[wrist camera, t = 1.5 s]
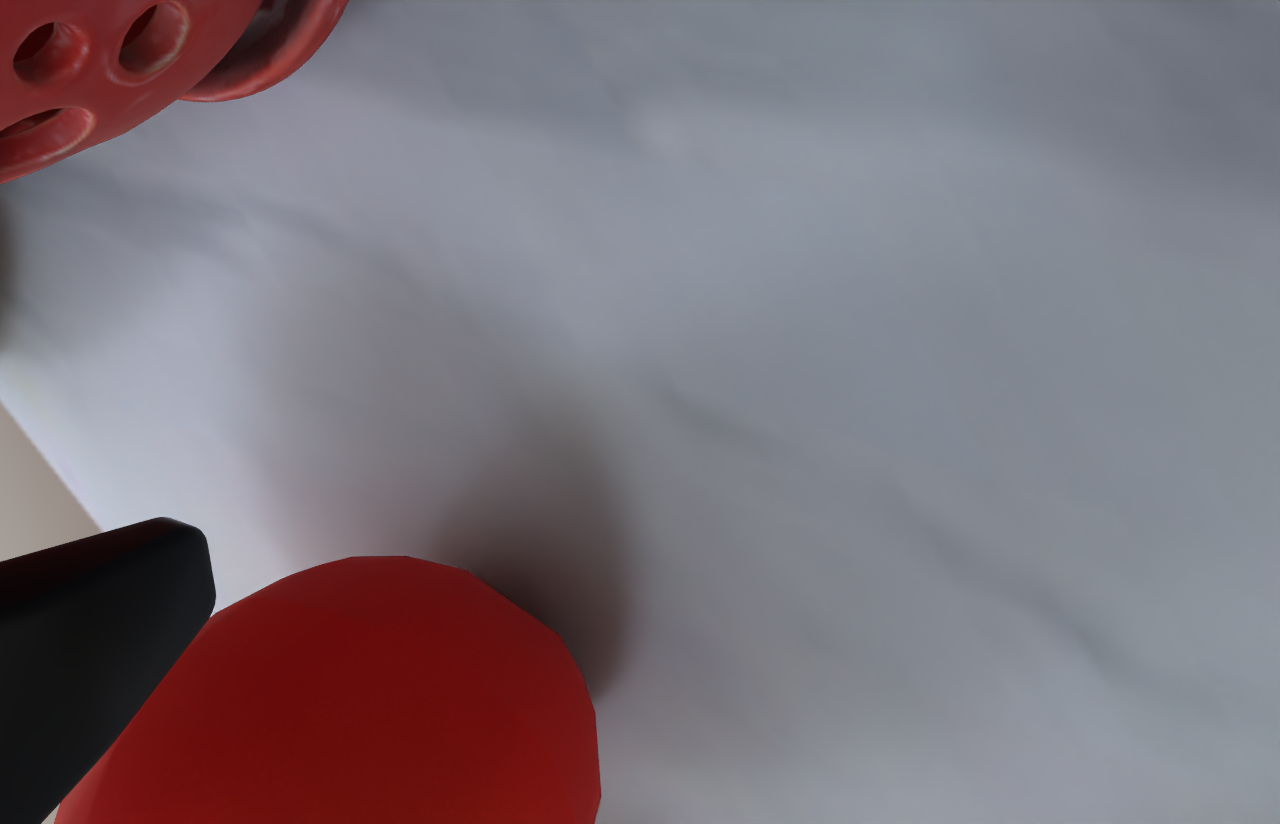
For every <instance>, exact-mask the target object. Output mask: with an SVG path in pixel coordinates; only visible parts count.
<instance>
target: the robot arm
mask: <svg viewBox="0 0 1280 824" xmlns="http://www.w3.org/2000/svg"><path fill="white" fill-rule="evenodd" d="M215 600H216V590H215V585H214V579H213V573H212V567H211V561H210V555H209V549H208V544H207V540H206V537H205V535H204V534H203V532H202V531H201V530H200V529H198V528H196V527H194V526H191V525H188V524H185V523H183V522H180V521H177V520H174V519H171V518H166V517H158V518H154V519H150V520H146V521H143V522H139V523H136V524H132V525H129V526H125V527H122V528H118V529H115V530H111V531H108V532H104V533H100V534H97V535H94V536H90V537H86V538H83V539H79V540H76V541H73V542H69V543H65V544H62V545H58V546H55V547H51V548H48V549H44V550H41V551H37V552H33V553H30V554H27V555H23V556H19V557H16V558H12V559H9V560H5V561H2V562H0V824H41V823H42V822H43V821H44V820H45V819H46V818H47V816H48V815H49V814H50V813H51V812H52V811H53V810H54V809H55V808H56V807H57V806H58V805H59V803H60V802H61V801H62V800H63V799H64V798H65V797H66V796H67V795H68V794H69V793H70V792H71V790H72V789H73V788H74V787H75V786H76V785H77V784H78V783H79V782H80V781H81V780H82V778H83V777H84V776H85V775H86V774H87V773H88V772H89V771H90V770H91V769H92V767H93V766H94V765H95V764H96V763H97V762H98V761H99V759H100V758H101V757H102V756H103V755H104V754H105V753H106V752H107V750H108V749H109V748H110V747H111V745H112V744H113V743H114V742H115V740H116V739H117V738H118V737H119V735H120V734H121V733H122V732H123V730H124V729H125V728H126V727H127V725H128V724H129V723H130V721H131V720H132V719H133V718H134V716H135V715H136V714H137V712H138V711H139V710H140V708H141V707H142V706H143V704H144V703H145V702H146V701H147V699H148V698H149V697H150V695H151V694H152V693H153V691H154V690H155V689H156V688H157V686H158V685H159V684H160V682H161V681H162V680H163V678H164V677H165V676H166V674H167V673H168V672H169V671H170V669H171V668H172V667H173V665H174V664H175V663H176V661H177V660H178V659H179V657H180V656H181V655H182V654H183V652H184V651H185V650H186V648H187V647H188V646H189V644H190V643H191V642H192V641H193V639H194V638H195V637H196V635H197V634H198V633H199V631H200V630H201V629H202V627H203V626H204V625H205V624H206V622H207V621H208V619H209V617H210V615H211V613H212V611H213V608H214V605H215Z"/></svg>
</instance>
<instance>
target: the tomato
mask: <svg viewBox="0 0 1280 824" xmlns="http://www.w3.org/2000/svg"><path fill="white" fill-rule="evenodd" d="M600 799H601V786H600V772H599V758H598V744H597V730H596V717H595V710H594V707H593V704H592V701H591V698H590V695H589V692H588V689H587V686H586V683H585V680H584V677H583V674H582V672H581V671H580V669H579V667H578V666H577V664H576V662H575V660H574V659H573V657H572V655H571V654H570V652H569V650H568V649H567V647H566V645H565V643H564V642H563V640H562V638H561V637H560V635H559V634H557V633H556V632H555V631H553V630H552V629H550V628H549V627H547V626H546V625H545V624H543V623H542V622H540V621H539V620H537V619H536V618H535V617H533V616H532V615H530V614H529V613H527V612H526V611H525V610H523V609H522V608H520V607H519V606H517V605H516V604H515V603H513V602H512V601H510V600H509V599H507V598H506V597H505V596H503V595H502V594H500V593H499V592H497V591H496V590H495V589H493V588H492V587H490V586H489V585H487V584H486V583H485V582H483V581H482V580H480V579H479V578H477V577H476V576H475V575H473V574H472V573H470V572H469V571H467V570H463V569H459V568H454V567H450V566H446V565H442V564H438V563H434V562H429V561H425V560H421V559H417V558H413V557H409V556H364V557H349V558H345V559H341V560H337V561H333V562H329V563H325V564H322V565H319V566H315V567H312V568H309V569H306V570H303V571H300V572H297V573H295V574H292V575H290V576H287V577H285V578H282V579H280V580H278V581H276V582H274V583H272V584H271V585H269V586H267V587H265V588H263V589H261V590H259V591H257V592H255V593H253V594H251V595H250V596H248V597H246V598H244V599H242V600H240V601H238V602H236V603H234V604H232V605H230V606H229V607H227V608H225V609H223V610H221V611H219V612H217V613H216V614H214V615H213V616H212V617H210V618H209V619H208V621H207V622H206V624H205V625H204V626H203V627H202V629H201V630H200V631H199V633H198V634H197V635H196V637H195V638H194V639H193V641H192V642H191V643H190V644H189V646H188V647H187V648H186V650H185V651H184V652H183V654H182V655H181V656H180V657H179V659H178V660H177V661H176V663H175V664H174V665H173V667H172V668H171V669H170V671H169V672H168V673H167V674H166V676H165V677H164V678H163V680H162V681H161V682H160V684H159V685H158V686H157V688H156V689H155V690H154V691H153V693H152V694H151V695H150V697H149V698H148V699H147V701H146V702H145V703H144V704H143V706H142V707H141V708H140V710H139V711H138V712H137V714H136V715H135V716H134V718H133V719H132V720H131V721H130V723H129V724H128V725H127V727H126V728H125V729H124V730H123V732H122V733H121V734H120V735H119V737H118V738H117V739H116V740H115V742H114V743H113V744H112V745H111V747H110V748H109V749H108V750H107V752H106V753H105V754H104V755H103V756H102V757H101V758H100V759H99V761H98V762H97V763H96V764H95V765H94V766H93V767H92V769H91V770H90V771H89V772H88V773H87V774H86V775H85V776H84V777H83V778H82V780H81V781H80V782H79V783H78V784H77V785H76V786H75V787H74V788H73V789H72V790H71V792H70V793H69V794H68V795H67V796H66V797H65V798H64V799H63V800H62V801H61V803H60V806H59V809H58V812H57V815H56V818H55V821H54V824H594V823H595V819H596V815H597V811H598V807H599V803H600Z"/></svg>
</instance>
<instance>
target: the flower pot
mask: <svg viewBox="0 0 1280 824" xmlns="http://www.w3.org/2000/svg"><path fill="white" fill-rule="evenodd" d="M348 1H349V0H0V184H3V183H6V182H9V181H12V180H15V179H17V178H20V177H23V176H25V175H28V174H31V173H33V172H35V171H38V170H40V169H42V168H45V167H47V166H49V165H51V164H54V163H56V162H58V161H60V160H62V159H64V158H66V157H68V156H71V155H73V154H75V153H77V152H80V151H82V150H84V149H87V148H89V147H92V146H94V145H97V144H99V143H102V142H104V141H107V140H110V139H112V138H114V137H117V136H119V135H122V134H124V133H126V132H127V131H129V130H131V129H132V128H134V127H136V126H137V125H139V124H141V123H142V122H144V121H146V120H147V119H149V118H151V117H152V116H154V115H156V114H157V113H158V112H160V111H161V110H163V109H164V108H166V107H167V106H168V105H170V104H171V103H173V102H174V101H175V100H177V99H178V100H185V101H193V102H221V101H227V100H233V99H239V98H243V97H246V96H249V95H253V94H255V93H258V92H261V91H263V90H266V89H268V88H270V87H272V86H274V85H275V84H277V83H279V82H280V81H282V80H284V79H286V78H287V77H288V76H290V75H291V74H292V73H294V72H295V71H296V70H297V69H299V68H300V67H301V66H302V65H303V64H304V63H305V62H306V61H307V60H308V59H310V58H311V57H312V55H313V54H314V53H315V52H316V51H317V49H318V48H319V47H320V46H321V45H322V43H323V42H324V41H325V40H326V38H327V37H328V36H329V34H330V33H331V31H332V30H333V28H334V27H335V25H336V24H337V22H338V20H339V19H340V17H341V15H342V13H343V11H344V8H345V6H346V4H347V3H348Z"/></svg>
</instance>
